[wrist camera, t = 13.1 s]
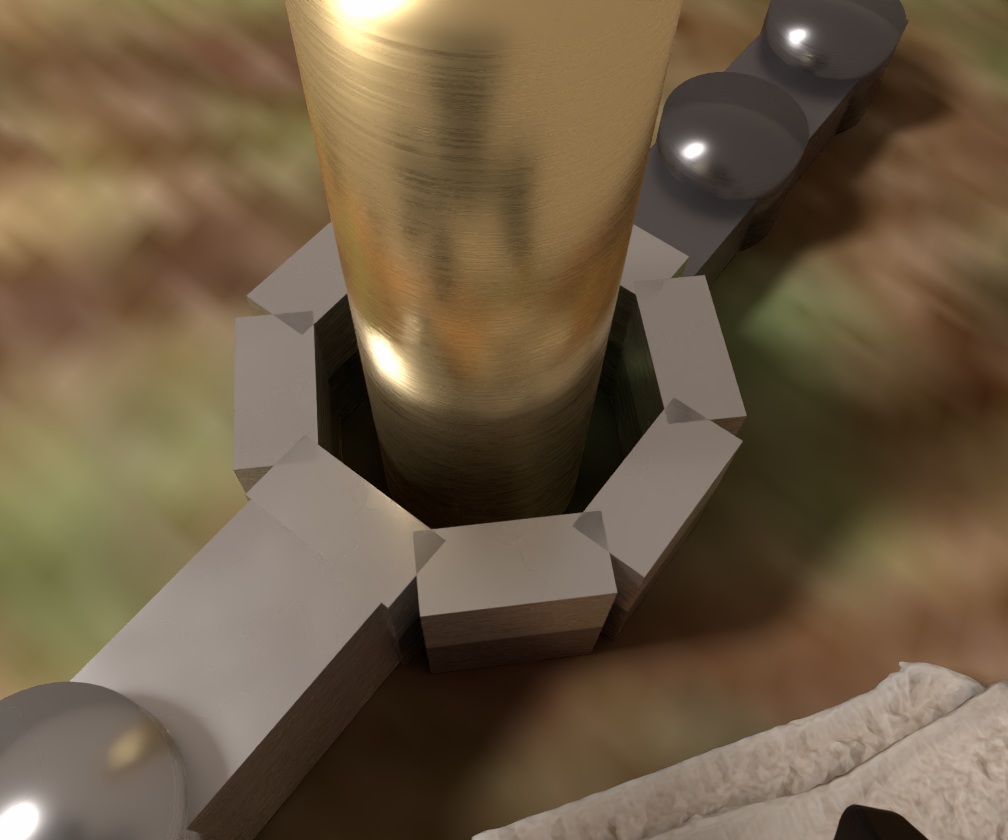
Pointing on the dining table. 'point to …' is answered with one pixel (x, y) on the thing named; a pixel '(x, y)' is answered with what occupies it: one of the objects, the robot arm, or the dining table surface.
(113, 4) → the dining table surface
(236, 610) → the chain joint
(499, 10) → the brass pin
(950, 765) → the washcloth
